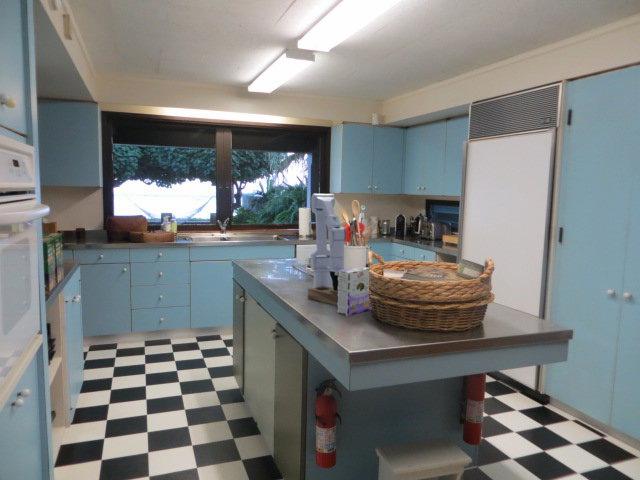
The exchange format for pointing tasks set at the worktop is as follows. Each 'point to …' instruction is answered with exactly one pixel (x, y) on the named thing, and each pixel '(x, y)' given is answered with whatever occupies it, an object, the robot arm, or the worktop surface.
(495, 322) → the worktop surface
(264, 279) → the worktop surface
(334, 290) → the pin
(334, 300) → the socket block
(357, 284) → the candy box
